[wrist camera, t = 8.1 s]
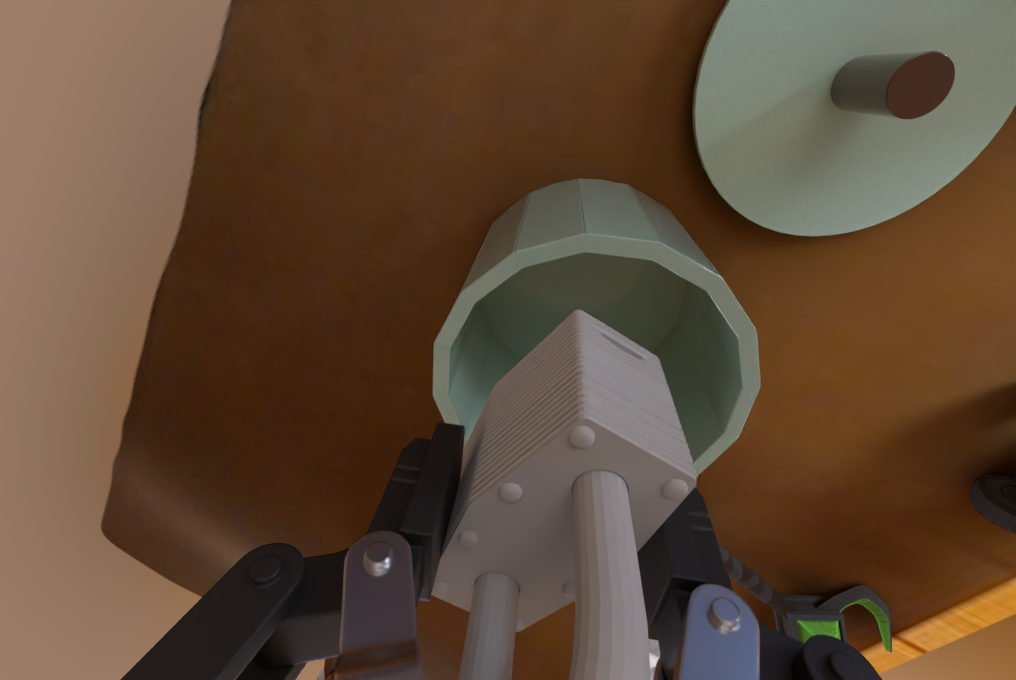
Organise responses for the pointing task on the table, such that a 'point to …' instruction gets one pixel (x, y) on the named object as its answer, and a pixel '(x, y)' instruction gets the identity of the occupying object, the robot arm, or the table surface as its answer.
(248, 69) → the table surface
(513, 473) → the padlock
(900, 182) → the pot lid
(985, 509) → the motor vehicle
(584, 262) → the pot
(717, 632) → the robot arm
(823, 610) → the war hammer
